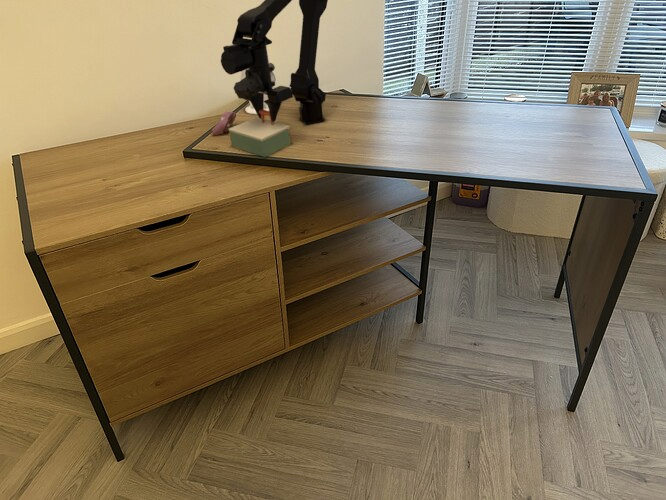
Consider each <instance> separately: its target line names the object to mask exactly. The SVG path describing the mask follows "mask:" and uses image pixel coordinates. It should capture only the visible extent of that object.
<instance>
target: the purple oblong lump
mask: <svg viewBox="0 0 666 500" xmlns="http://www.w3.org/2000/svg"><path fill="white" fill-rule="evenodd" d="M236 117H237V112H235V111H232V110H230V109H228V111H225V112H223V113H222V115H221V117H220V118H219V120H218V122H217V123H216V125H215V126H214V127H212V129H211V134H212V136H219V135H221V134H223V132H224V133H228V131H229V129H230V128H232V127H233V123H234V121H235V120H236Z"/></svg>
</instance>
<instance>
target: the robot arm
mask: <svg viewBox="0 0 666 500" xmlns="http://www.w3.org/2000/svg"><path fill="white" fill-rule="evenodd" d="M292 1H293V0H264V1H262V2H261V3H260V4H259V5H257V6H256V7H253V8H250V9H248V10H246V11H245V12H244V13H242V14H240V15H239V16H238V18H237V20H236V21H237V25H236V28H235V31H234V35H233V38H232V41H231V44H230V45H225V46H223V52H222V53H221V55H220V65H221V67H222V69H223V70H224V72H225V73H226V74H228V75H229V76H230V75H235V74H237V73H240V71H243V70H246V69H247V70H246V72H245V75H246V77H245V78H244V79H242V80H241V79H240V81H239V80H238V81H237V82H234V83H235V84H234V86H233V91H234V94H236V96H237V98H238V99H243V100H245V101H250V102H251V103H252V105H253V107H254V109H255V111H256V113H257V114H256V115H257V117H259V118H260V119H261V114H259V110H260V109H262V110H263V108H264V102H265V103H266V104H267V105H268V108H269V113H270V116H269V118H270V117H271V120H272V122H276V120H277V117H278V114H279V110H280V108H281V105H282V102H285V101H287V100H290V99H292V98H294V100H295V102H299V107H298V112H299V119H300V120H301V121H302V122H303V123H304V124H305V125H308V126H309V125H313V124H317V123H321V122H325V121H326V119H325V118H324V117H323V116H324V115H323V104H324V103H325V102H326V97H327V94H326V92H324V91H323V90H322V89H321V88H320V80H319V76H318V74H317V72H316V71H317V70H316V62H317V51H318V44H319V43H318V41H319V31H320V23H321V21H320V20H321V17H322V16H323V14H324V12H325V11H326V9H327V7H328V1H329V0H298V6H299V8H300V11H301V14H302V24H301V35H300V46H299V47H300V48H299V56H298V68H297V69H296V71H295V72H291V74H290V83H289V86H285V85H278V86H276V81H275V82H273V81H271V74H270V71H272V72H274V70H273V67H271V66H269V63H270V61H269V55H268V48H267V46H268V45H271V44H273V41H272V40H271V39H270V38H268V37H267V34H268V33H269V32H270V30H271V29H272V26H273V21H274V20H275V18H276V17H278V15H280V14H281V12H282V11H283V10H284V9H286V7H287V6H289V4H290V3H291V2H292ZM248 68H249V69H248ZM273 86H274V87H273ZM275 86H276V87H275ZM272 87H273V88H272ZM264 94H266V95H268V100H265V101H264Z"/></svg>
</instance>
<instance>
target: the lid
mask: <svg viewBox="0 0 666 500" xmlns="http://www.w3.org/2000/svg"><path fill="white" fill-rule="evenodd" d="M259 114H261V119H260V118H259V116H256V117H253V118H251V119H249V120H246V121H244V122H242V123H239V124H237V125H234V126H232V127H231V128H230V129H229V128H228V132H229V131H230V132H233V133H236V134H240V135H243V136H246V137H250V138H253V139H256V140H259V141H264V140H266V139H268V138H270V137H272V136H274V135H276V134H278V133H281V132H283V131H285V130H287V129H291V126H290V125H288V124H285V123H281V122H278V121H274V122H272V120H271V117H270V113H269V111H266V110H262V109H260V110H259ZM265 116H266V117H269V119H266V118H265Z"/></svg>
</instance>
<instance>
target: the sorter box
mask: <svg viewBox="0 0 666 500" xmlns="http://www.w3.org/2000/svg"><path fill="white" fill-rule="evenodd" d="M289 129H290V128H289ZM289 129H287V130H285V131H283V132H281V133H278V134H276V135H274V136H272V137H270V138H268V139H266V140H264V141H259V140H256V139H253V138H250V137H246V136H243V135H240V134H236V133H233V132H230V131H229V130H228V133H229V137H230V143H231V147H233V148H236V149H238V150H242V151H245V152H248V153H251V154H253V155H256V156H260V157H263V158H266V157H268V156H270V155H272V154H274V153H277V152H278V151H280V150H283V149H285V148H286V147H288V146H290V145H291V137H290V130H289Z"/></svg>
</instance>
